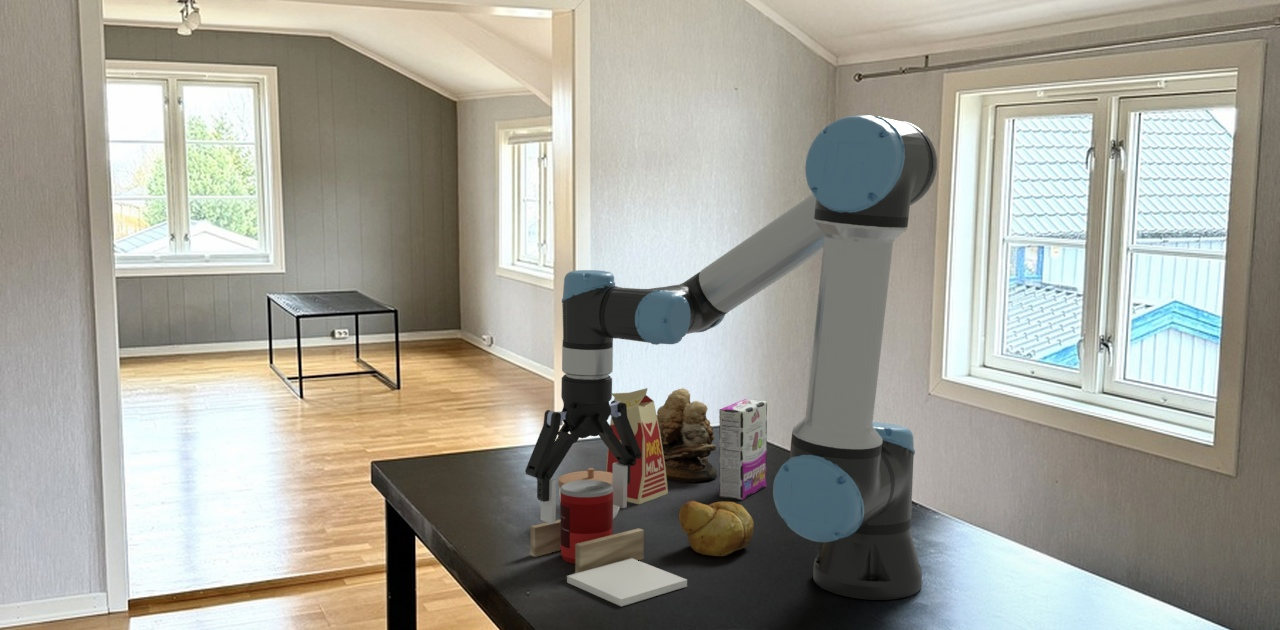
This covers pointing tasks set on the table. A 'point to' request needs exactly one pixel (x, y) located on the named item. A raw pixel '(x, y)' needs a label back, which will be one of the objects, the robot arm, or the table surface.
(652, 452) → the milk carton
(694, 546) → the bread roll
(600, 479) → the lidded jar
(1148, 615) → the table surface
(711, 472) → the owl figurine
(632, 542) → the cradle
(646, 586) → the coaster
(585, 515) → the canned food
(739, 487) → the candy bar box
